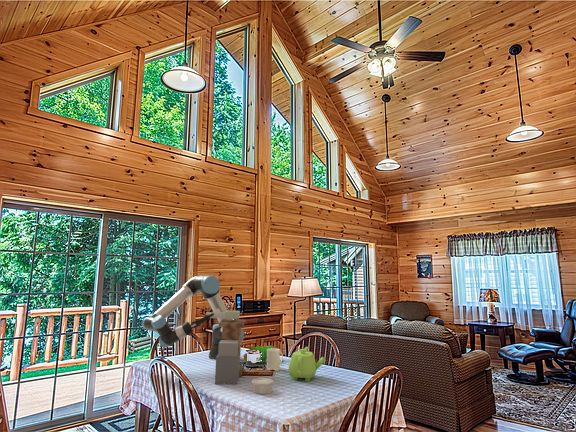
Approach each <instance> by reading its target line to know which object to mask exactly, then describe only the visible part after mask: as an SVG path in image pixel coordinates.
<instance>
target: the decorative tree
mask: <svg viewBox="0 0 576 432" xmlns="http://www.w3.org/2000/svg"><path fill="white" fill-rule="evenodd" d="M270 348H276V349H278V347H275V346H273V345H264V346H263V345H260V346H258V345H256V346H255V347H254V346H251V347H250V349H249V350H259V351H261V352H262V354H261V356H262V357H261V360H262V362H261V363H266V362H267V349H270ZM247 353H248V352H247ZM247 353H244V354H243V360H244V361H245V362H248V361H247Z"/></svg>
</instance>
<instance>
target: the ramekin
mask: <svg viewBox="0 0 576 432" xmlns="http://www.w3.org/2000/svg"><path fill="white" fill-rule="evenodd" d="M274 382H275V381H274V379H271V378H266V377H261V378H260V377H258V378H254V379H252V381H251V384H252V391H253V392H254V393H255V394H258V395H268V394H270V393H271V392H273V386H274Z"/></svg>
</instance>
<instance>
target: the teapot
mask: <svg viewBox="0 0 576 432" xmlns="http://www.w3.org/2000/svg"><path fill="white" fill-rule="evenodd" d="M308 349H309V348H308V346H305V347H304V348H300V349H299V351H297V350H296V351H294V352H293V353H292V354H291V357H290V360H289V362H288V363H289V364H288V373H289V374H288V375H290V377H292V378H291V380H292V381H297V380H298V379H300V378H301V379H304V380H305V382H311V378H313V377H315V375H316V374H317V373H316V372H317V370H318V369H319V368H320V367H321V366H322V365H323V364H324V363H325V362H327V360H326V358H325V357H324V356H322V357H321V358H320V359H319V360H318V361H317V362H316V359H315V355H314V353H313V352H312V351H309V350H308Z"/></svg>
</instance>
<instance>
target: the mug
mask: <svg viewBox="0 0 576 432" xmlns="http://www.w3.org/2000/svg"><path fill="white" fill-rule="evenodd" d="M276 348H277V347H275V348H270V349H267V360H266V367H267V368H270V369H274V370H275V371H274V372H278V371H280V370H281V368H280V367H281V366H280V365H281V363H282V361H283V359H284V354H283V353H282V351H281V349H279V348H277V349H276ZM280 355H281V357H280ZM280 358H281V359H280Z"/></svg>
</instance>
